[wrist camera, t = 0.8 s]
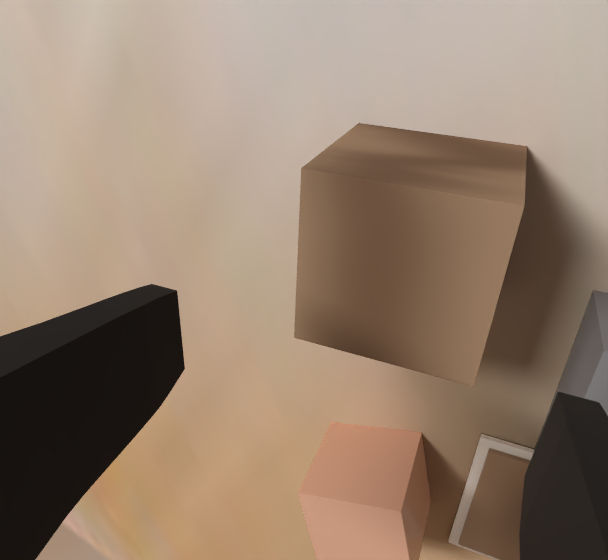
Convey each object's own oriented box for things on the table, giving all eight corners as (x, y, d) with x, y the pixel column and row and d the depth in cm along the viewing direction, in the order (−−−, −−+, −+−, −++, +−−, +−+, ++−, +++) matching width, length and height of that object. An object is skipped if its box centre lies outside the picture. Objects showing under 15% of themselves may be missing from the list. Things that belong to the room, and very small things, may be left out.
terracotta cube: (421, 431, 21) (400, 511, 18) (431, 499, 23) (413, 584, 20) (331, 421, 23) (297, 492, 20) (346, 485, 25) (317, 561, 21)
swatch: (681, 493, 18) (684, 502, 18) (613, 598, 22) (614, 608, 21) (481, 433, 20) (480, 440, 20) (448, 538, 24) (447, 546, 23)
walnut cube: (527, 145, 15) (524, 205, 11) (487, 293, 17) (473, 386, 13) (359, 122, 16) (301, 168, 12) (345, 261, 19) (294, 337, 15)
